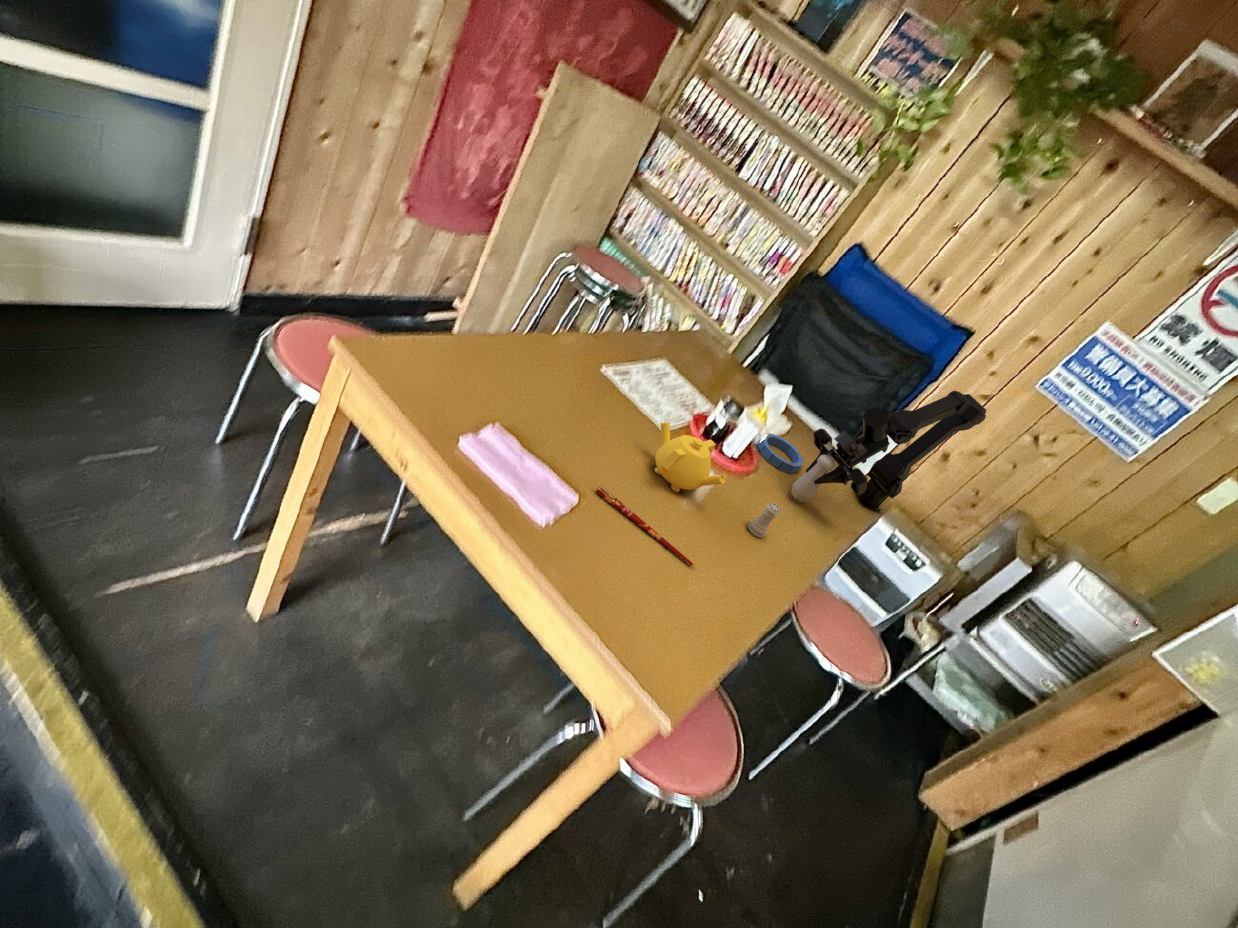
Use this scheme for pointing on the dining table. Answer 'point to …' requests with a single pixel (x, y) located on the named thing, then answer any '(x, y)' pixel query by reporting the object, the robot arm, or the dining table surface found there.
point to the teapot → (685, 461)
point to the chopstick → (641, 523)
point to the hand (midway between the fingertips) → (810, 477)
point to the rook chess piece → (763, 520)
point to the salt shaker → (812, 479)
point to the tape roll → (776, 459)
